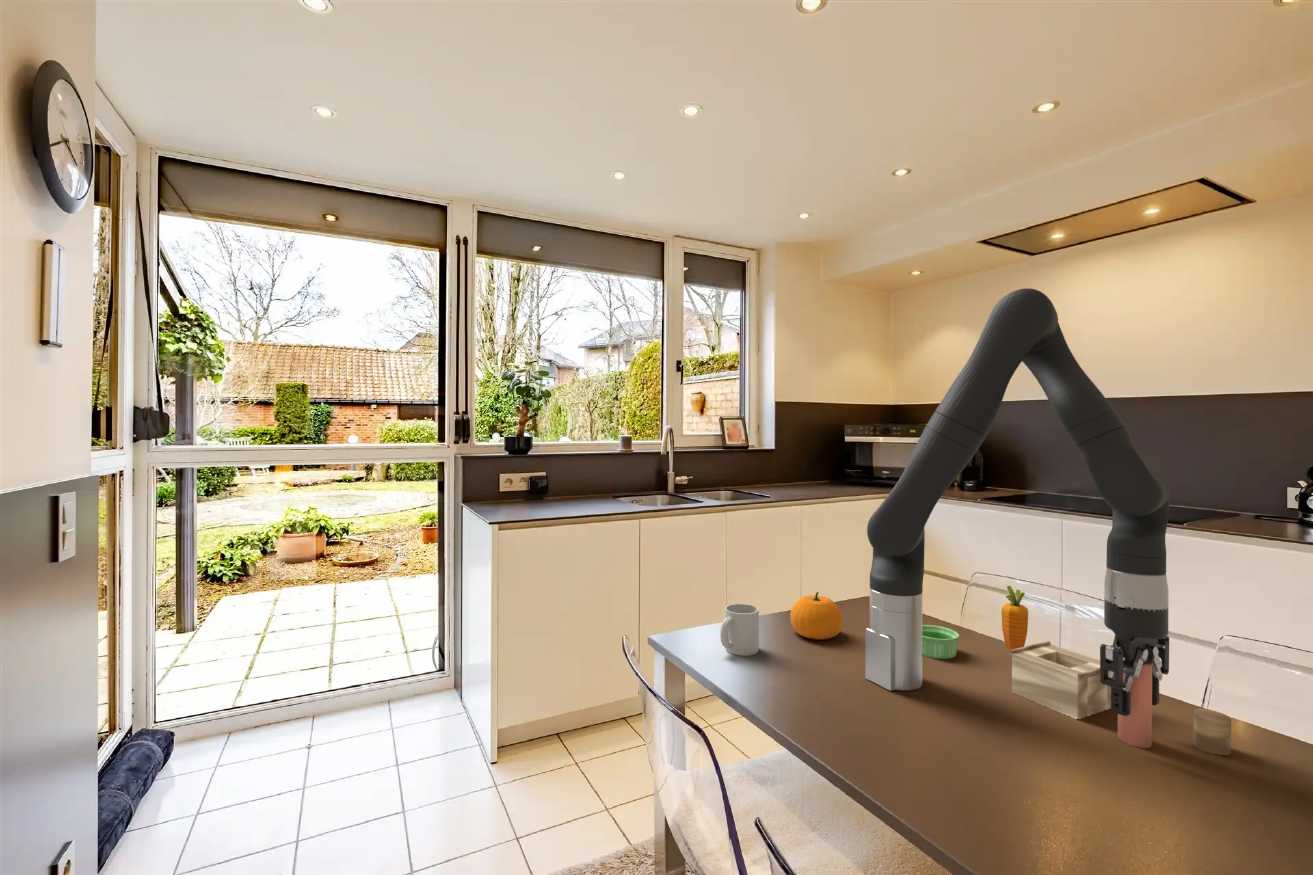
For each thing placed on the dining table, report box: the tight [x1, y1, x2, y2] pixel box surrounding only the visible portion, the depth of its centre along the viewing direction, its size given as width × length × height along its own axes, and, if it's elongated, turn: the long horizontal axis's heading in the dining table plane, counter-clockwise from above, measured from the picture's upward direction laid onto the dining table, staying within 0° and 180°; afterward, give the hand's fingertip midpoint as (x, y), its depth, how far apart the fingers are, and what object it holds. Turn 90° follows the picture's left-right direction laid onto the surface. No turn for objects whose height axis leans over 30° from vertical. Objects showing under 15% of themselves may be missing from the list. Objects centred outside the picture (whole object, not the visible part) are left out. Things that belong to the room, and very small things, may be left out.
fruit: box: [789, 591, 844, 641], centre depth 135 cm, size 12×12×10 cm
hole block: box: [1009, 640, 1111, 720], centre depth 102 cm, size 11×12×8 cm
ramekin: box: [922, 624, 960, 660], centre depth 124 cm, size 9×9×4 cm
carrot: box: [1001, 585, 1029, 658], centre depth 120 cm, size 5×5×15 cm
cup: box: [719, 603, 760, 657], centre depth 125 cm, size 7×10×9 cm
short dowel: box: [1193, 708, 1232, 756], centre depth 87 cm, size 4×4×5 cm
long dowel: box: [1117, 663, 1153, 749], centre depth 89 cm, size 4×4×12 cm
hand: (1135, 707), depth 89 cm, fingers open, 7 cm apart
